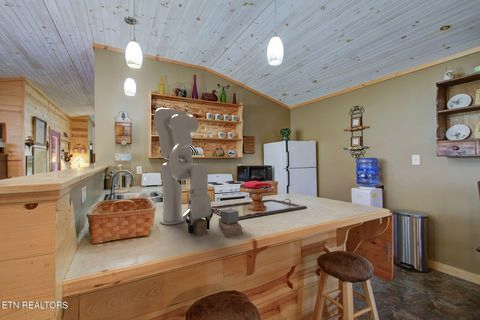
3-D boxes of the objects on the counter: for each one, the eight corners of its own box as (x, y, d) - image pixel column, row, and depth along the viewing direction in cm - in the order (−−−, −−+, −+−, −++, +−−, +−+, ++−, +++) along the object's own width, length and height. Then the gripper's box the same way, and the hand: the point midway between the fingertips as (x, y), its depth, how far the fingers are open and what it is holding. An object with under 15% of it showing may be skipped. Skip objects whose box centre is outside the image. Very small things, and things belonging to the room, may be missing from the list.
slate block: (220, 220, 106) (220, 210, 106) (230, 218, 110) (231, 208, 110) (228, 224, 102) (228, 213, 102) (238, 221, 105) (238, 211, 105)
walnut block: (191, 233, 101) (191, 220, 101) (200, 230, 104) (200, 218, 104) (197, 236, 97) (197, 222, 97) (206, 233, 101) (206, 220, 100)
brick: (243, 236, 99) (243, 226, 99) (224, 238, 97) (224, 227, 97) (234, 225, 115) (234, 216, 115) (217, 226, 113) (217, 217, 112)
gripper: (186, 195, 91) (186, 238, 92) (219, 190, 104) (219, 228, 104) (177, 193, 97) (177, 233, 97) (209, 189, 109) (209, 225, 109)
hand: (199, 230), depth 101 cm, fingers open, 7 cm apart
